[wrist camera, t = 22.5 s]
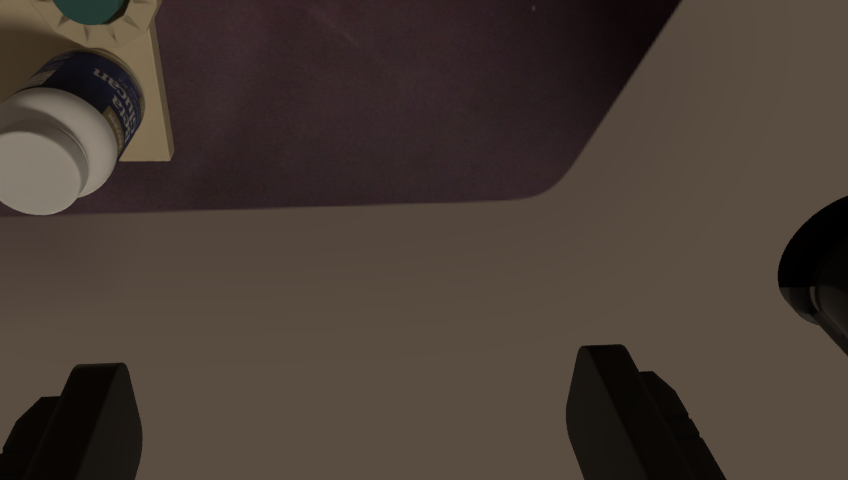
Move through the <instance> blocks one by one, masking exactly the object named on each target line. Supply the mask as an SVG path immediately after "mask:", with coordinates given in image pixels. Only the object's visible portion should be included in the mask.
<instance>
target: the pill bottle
mask: <svg viewBox="0 0 848 480" xmlns="http://www.w3.org/2000/svg"><path fill="white" fill-rule="evenodd" d="M145 109H146V99H145V93H144V90H143V87H142V85H141V83H140V81H139V79H138V78H137V76H136V75H135V73H134V72H133V71H132V70H131V69H130V68H129V67H128V66H127V65H126V64H125V63H124V62H123V61H121V60H120V59H119V58H117V57H115V56H114V55H112V54H110V53H107V52H105V51H102V50H99V49H94V48H86V47H81V48H73V49H69V50H65V51H63V52H61V53H59V54H57V55H56V56H54V57H53V58H52V59H50V60H49V61H48V62H47V63H46V64H44V65H43V66H42V67H41V68H40V69H39V70H38V71H37V72H36V73H35V74H34V75H33V76H31V77H30V78H29V79H28V80H27V81H26V82H25V83H24V84H23V85H22V86H21V87H20V88H18V89H17V90H16V91H15V92H14V93H13V94H12V95H11V96H9V97H8V98H7V99H6V100H5V101H4V102H3V103H2V104H1V105H0V201H1V202H3V203H4V204H6V205H7V206H9V207H11V208H13V209H15V210H18V211H20V212H23V213H28V214H34V215H48V214H54V213H57V212H60V211H62V210H64V209H66V208H67V207H69V206H70V205H71V204H72V203H73V202H74V201H75V200H76V198H79V197H83V196H85V195H88V194H90V193H92V192H94V191H95V190H97V189H98V188H99V187H101V186H102V185H103V184H104V183H105V181H106V180H107V179H108V177H109V176H110V175H111V173H112V171H113V170H114V168H115V166H116V165H117V163H118V161H119V159H120V158H121V156H122V154H123V153H124V151H125V149H126V148H127V146H128V144H129V143H130V141H131V140H132V138H133V136H134V135H135V133H136V131H137V130H138V128H139V126H140V124H141V122H142V120H143V117H144V114H145Z"/></svg>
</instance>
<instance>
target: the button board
mask: <svg viewBox="0 0 848 480" xmlns="http://www.w3.org/2000/svg"><path fill="white" fill-rule="evenodd" d="M161 3H162V0H124V2H123V4H122V6H121V7H120V9H119V10H118V11H117V12H116V13H115V14H114V15H113V16H112V17H111V18H110V19H109V20H107V21H106V22H104V23H102V24H98V25H84V24H80V23H77V22H75V21H73V20H71V19H69V18H68V17H66V16H65V15H64V14H63V13H62V12H61V11H60V10H59V9H58V8H57V7H56V5H55V3H54V2H53V0H0V105H1V104H2V103H3V102H4V101H5V100H6V99H7V98H8V97H9V96H11V95H12V94H13V93H14V92H15V91H16V90H17V89H18V88H20V87H21V86H22V85H23V84H24V83H25V82H26V81H27V80H28V79H29V78H30V77H31V76H33V75H34V74H35V73H36V72H37V71H38V70H39V69H40V68H41V67H42V66H43V65H44V64H46V63H47V62H48V61H49V60H50V59H52V58H53V57H54V56H56V55H57V54H59V53H61V52H63V51H65V50H69V49H73V48H81V47H86V48H94V49H99V50H102V51H105V52H107V53H110V54H112V55H114V56H115V57H117V58H119V59H120V60H121V61H123V62H124V63H125V64H126V65H127V66H128V67H129V68H130V69H131V70H132V71H133V72H134V73H135V75H136V76H137V78H138V79H139V81H140V83H141V85H142V87H143V90H144V93H145V99H146V109H145V114H144V117H143V120H142V122H141V124H140V126H139V128H138V130H137V131H136V133H135V135H134V136H133V138H132V140H131V141H130V143H129V144H128V146H127V148H126V149H125V151H124V153H123V154H122V156H121V158H120V159H119V161H170V160H171V158H172V155H173V153H174V144H173V138H172V131H171V124H170V118H169V111H168V105H167V98H166V92H165V85H164V79H163V72H162V66H161V59H160V53H159V46H158V40H157V33H156V27H155V20H154V18H155V16H156V14H157V12H158V9H159V7H160V5H161Z"/></svg>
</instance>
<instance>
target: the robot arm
mask: <svg viewBox="0 0 848 480" xmlns="http://www.w3.org/2000/svg"><path fill="white" fill-rule="evenodd" d="M806 293H807V297H808V299H809V301H810V302H811V304H812V306H811V309H810V311H809V315H810V316H811V317H812V318H813V319H814V320H815V321H816V322H817V323H818V324H819V326H820V327H821V328H822V329H823V330H824V331H825V332H826V333H827V334H828V335H829V336H830V337H831V339H832V340H833V341H834V342H835V343H836V344H837V345H838V346H839V347H840V348H841V349H842V351H843V352H844V353H845V354H846V355H847V356H848V228H847V229H846V230H844V231H842V232H841V233H840V234H838V235H837V236H836V237H834V238H833V239H832V240H831V241H830V242H829V243H828V244H827V245H826V246H825V247H824V248H823V249H822V250H821V251H820V252H819V254H818V255H817V256H816V258H815V259H814V261H813V263H812V265H811V267H810V269H809V272H808V275H807V278H806ZM566 424H567V430H568V435H569V439H570V441H571V444H572V447H573V450H574V453H575V455H576V458H577V461H578V463H579V466H580V469H581V471H582V474H583V477H584V480H726V478H725V476H724V475H723V473H722V471H721V470H720V468H719V466H718V464H717V463H716V461H715V459H714V457H713V456H712V454H711V452H710V450H709V449H708V447H707V445H706V444H705V442H704V440H703V439H702V438H700V436H699V431H698V430H697V428H696V426H695V424H694V423H693V421H692V419H689V417H688V412H687V411H686V409H685V407H684V405H683V404H682V402H681V400H680V399H679V397H678V395H677V393H676V392H675V390H673V389H672V388H671V387H670V386H669V385H668V384H667V383H666V382H664V381H663V380H662V379H661V378H660V377H659V376H657V375H656V374H655V373H654V372H653V371H648V372H647V371H646V372H639V371H638V369H637V367H636V365H635V363H634V362H633V360H632V358H631V356H630V354H629V352H628V351H627V349H626V348H625V346H623V345H621V344H615V345H590V346H581V348H580V349H579V351H578V354H577V358H576V363H575V368H574V372H573V377H572V381H571V386H570V391H569V396H568V400H567V406H566ZM141 452H142V426H141V421H140V417H139V413H138V409H137V404H136V401H135V396H134V392H133V388H132V384H131V379H130V375H129V371H128V369H127V366H126V365H125V364H124V363H101V364H79V365H76V366H75V367H74V368H73V370H72V371H71V373H70V376H69V378H68V380H67V383H66V384H65V387H64V389H63V391H62V393H61V395H60V396H54V397H41V398H40V399H39V400H38V401H37V402H36V403H35V404H34V405H33V406H32V407H31V408H30V409H28V411H26V412H25V413H24V414H23V415H22V416H21V417H20V418H19V419H18V420H17V421H16V423H15V425H14V427H13V429H12V431H11V433H10V435H9V437H8V439H7V441H6V443H5V445H4V447H3V453H2V454H0V480H135V477H136V473H137V470H138V466H139V463H140V457H141Z"/></svg>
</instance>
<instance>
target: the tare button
mask: <svg viewBox="0 0 848 480" xmlns="http://www.w3.org/2000/svg"><path fill="white" fill-rule="evenodd" d="M53 2H54V3H55V5H56V7H57V8H58V9H59V10H60V11H61V12H62V13H63V14H64V15H65V16H66V17H68V18H69V19H71V20H73V21H75V22H77V23H80V24H84V25H98V24H102V23H104V22H106V21H107V20H109V19H110V18H111V17H112V16H113V15H114V14H115V13H116V12H117V11H118V10H119V9H120V7H121V6H122V4H123V2H124V0H53Z"/></svg>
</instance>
